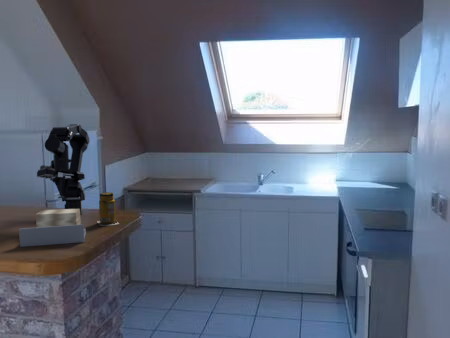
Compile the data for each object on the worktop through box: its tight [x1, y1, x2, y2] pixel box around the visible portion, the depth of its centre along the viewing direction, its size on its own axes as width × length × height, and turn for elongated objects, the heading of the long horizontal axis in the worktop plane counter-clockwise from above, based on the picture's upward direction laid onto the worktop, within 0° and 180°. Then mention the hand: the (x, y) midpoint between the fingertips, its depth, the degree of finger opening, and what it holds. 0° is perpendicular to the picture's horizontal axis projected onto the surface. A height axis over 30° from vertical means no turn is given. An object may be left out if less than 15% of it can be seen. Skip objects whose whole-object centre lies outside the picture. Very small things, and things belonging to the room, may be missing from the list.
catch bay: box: [18, 223, 87, 248], centre depth 154 cm, size 11×20×6 cm, turn 102°
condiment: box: [96, 191, 120, 227], centre depth 176 cm, size 7×8×12 cm
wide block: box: [35, 208, 82, 227], centre depth 164 cm, size 14×7×8 cm, turn 97°
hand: (62, 196), depth 173 cm, fingers closed
